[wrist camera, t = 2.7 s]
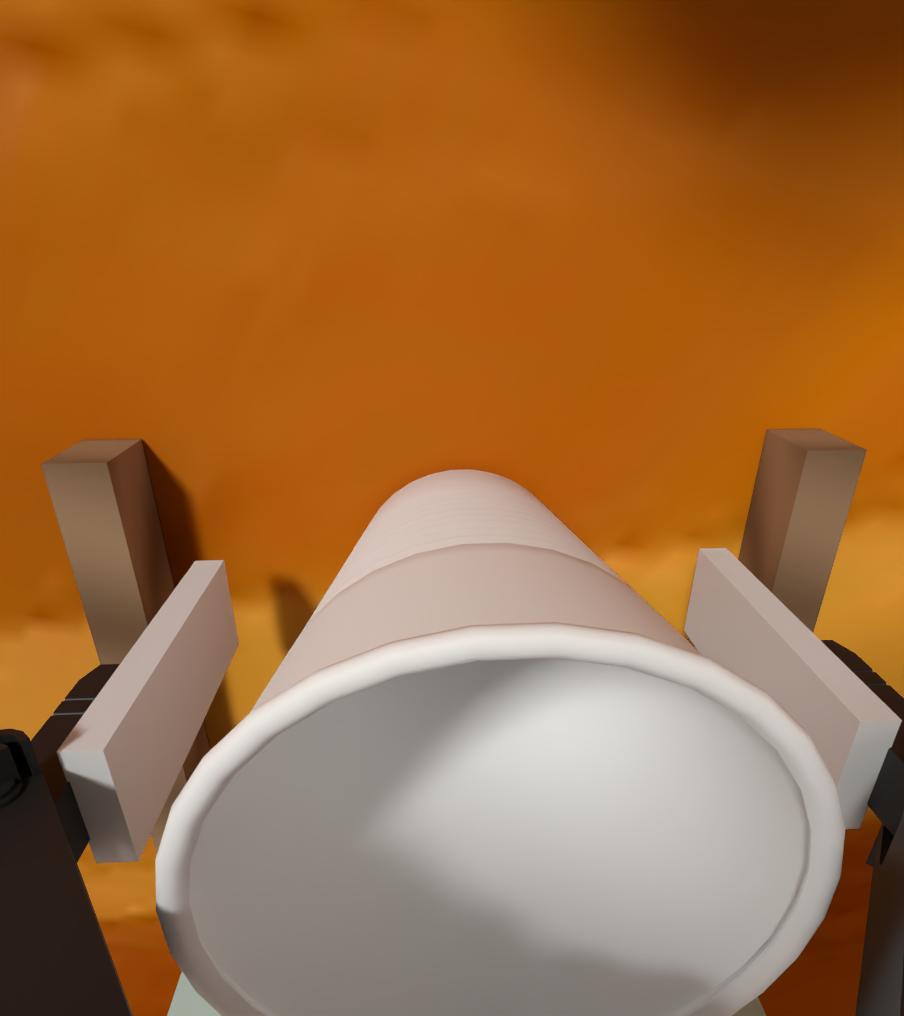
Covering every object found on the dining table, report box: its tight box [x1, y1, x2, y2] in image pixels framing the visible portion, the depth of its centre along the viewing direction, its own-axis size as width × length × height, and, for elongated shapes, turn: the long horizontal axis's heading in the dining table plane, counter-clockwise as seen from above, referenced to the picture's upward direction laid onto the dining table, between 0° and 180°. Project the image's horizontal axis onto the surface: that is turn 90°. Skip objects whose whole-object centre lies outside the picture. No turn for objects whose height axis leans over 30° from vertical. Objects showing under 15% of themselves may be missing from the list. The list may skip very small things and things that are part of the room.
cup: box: [156, 470, 845, 1016], centre depth 14 cm, size 10×10×11 cm
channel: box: [41, 429, 866, 853], centre depth 20 cm, size 22×21×2 cm
